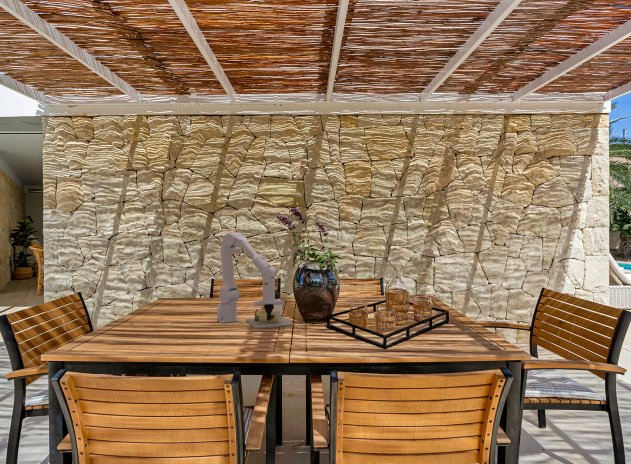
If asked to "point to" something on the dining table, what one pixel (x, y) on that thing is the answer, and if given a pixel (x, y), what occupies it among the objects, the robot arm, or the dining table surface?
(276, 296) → the medicine bottle
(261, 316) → the swing leaf
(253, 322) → the board
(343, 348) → the dining table surface
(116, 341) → the dining table surface
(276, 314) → the fixed leaf
